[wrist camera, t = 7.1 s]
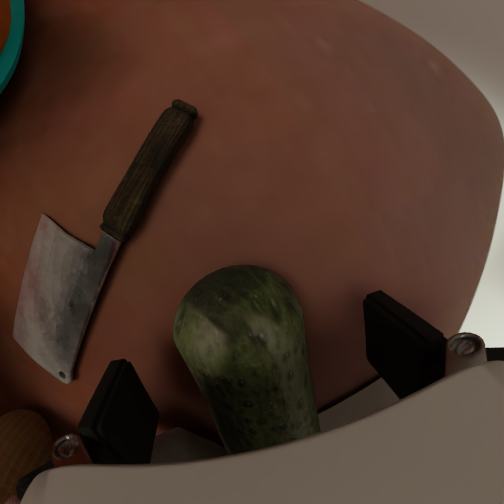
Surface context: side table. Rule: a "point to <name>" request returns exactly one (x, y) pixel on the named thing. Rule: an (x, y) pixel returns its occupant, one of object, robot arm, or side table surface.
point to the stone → (183, 447)
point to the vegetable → (248, 357)
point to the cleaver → (88, 254)
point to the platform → (358, 405)
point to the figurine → (21, 447)
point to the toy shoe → (10, 37)
